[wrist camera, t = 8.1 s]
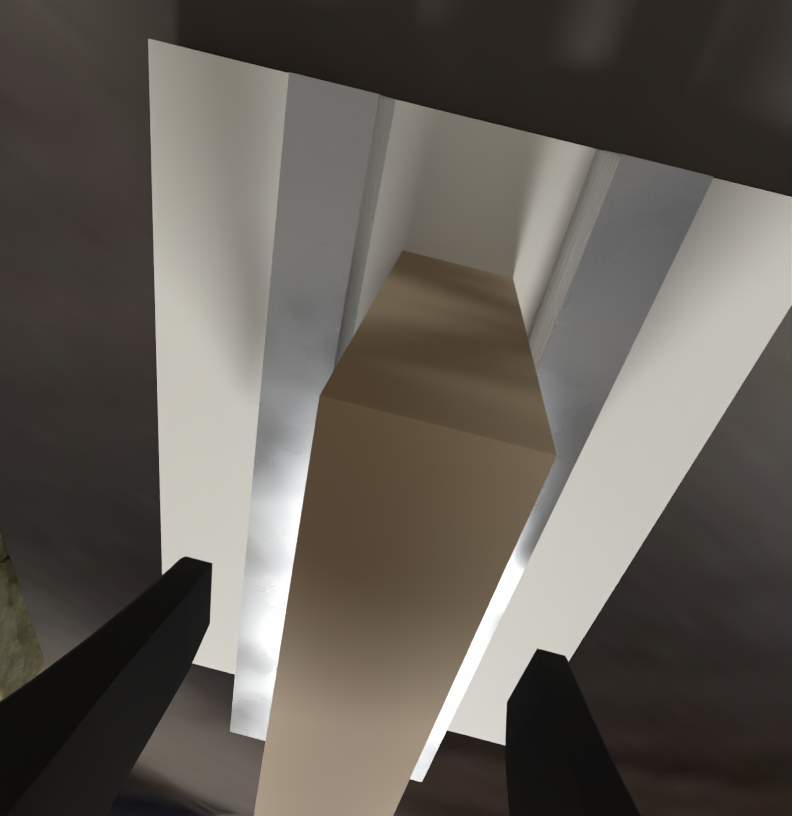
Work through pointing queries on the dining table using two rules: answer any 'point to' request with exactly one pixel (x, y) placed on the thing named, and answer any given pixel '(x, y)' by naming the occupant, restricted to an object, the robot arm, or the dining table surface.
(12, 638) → the mossy green slab
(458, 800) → the dining table surface
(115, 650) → the robot arm
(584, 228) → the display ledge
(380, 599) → the tan wooden frame
